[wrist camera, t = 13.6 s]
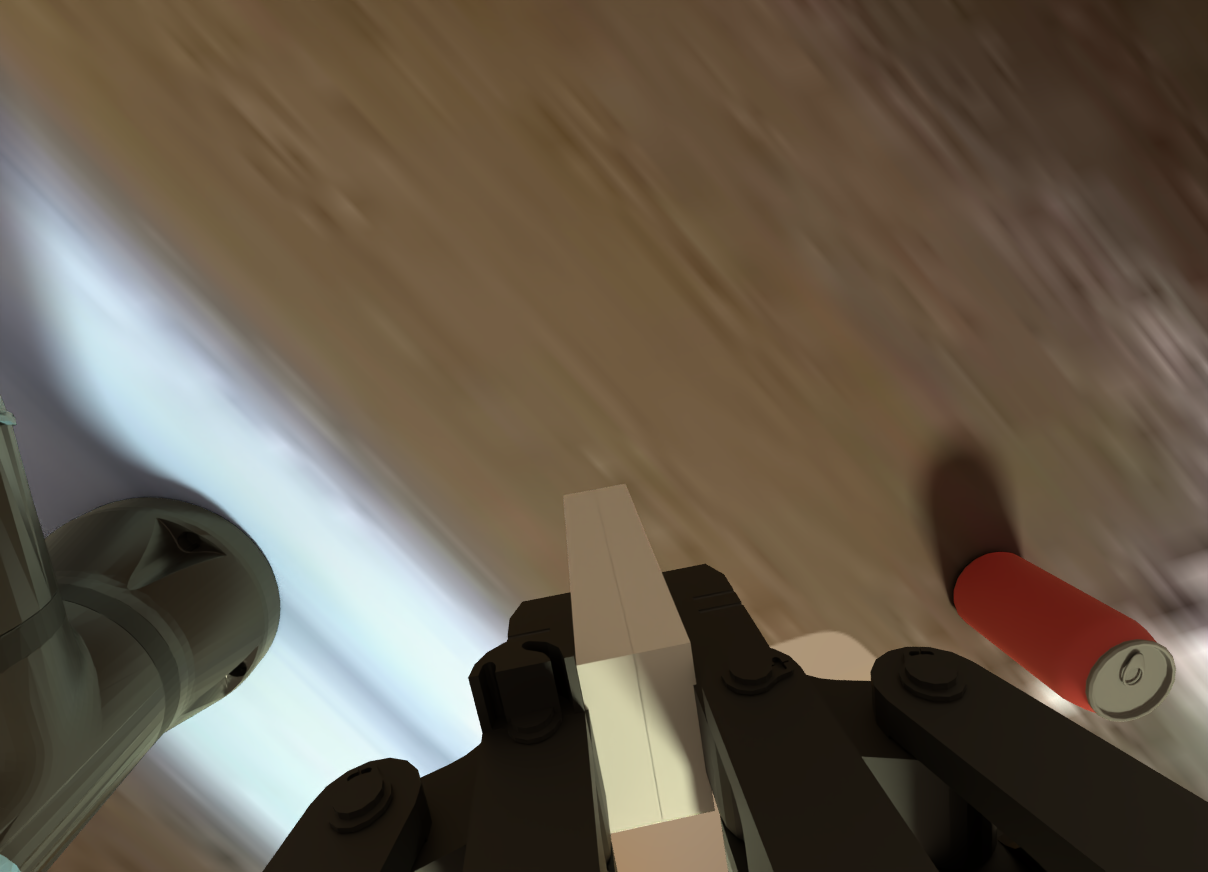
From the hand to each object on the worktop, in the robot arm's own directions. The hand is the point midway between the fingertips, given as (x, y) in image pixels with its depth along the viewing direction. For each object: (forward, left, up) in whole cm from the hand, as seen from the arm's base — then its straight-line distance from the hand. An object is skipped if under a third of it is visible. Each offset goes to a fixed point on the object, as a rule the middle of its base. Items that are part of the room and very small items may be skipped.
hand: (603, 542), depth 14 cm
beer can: (+30, -22, -27) cm, 46 cm away
